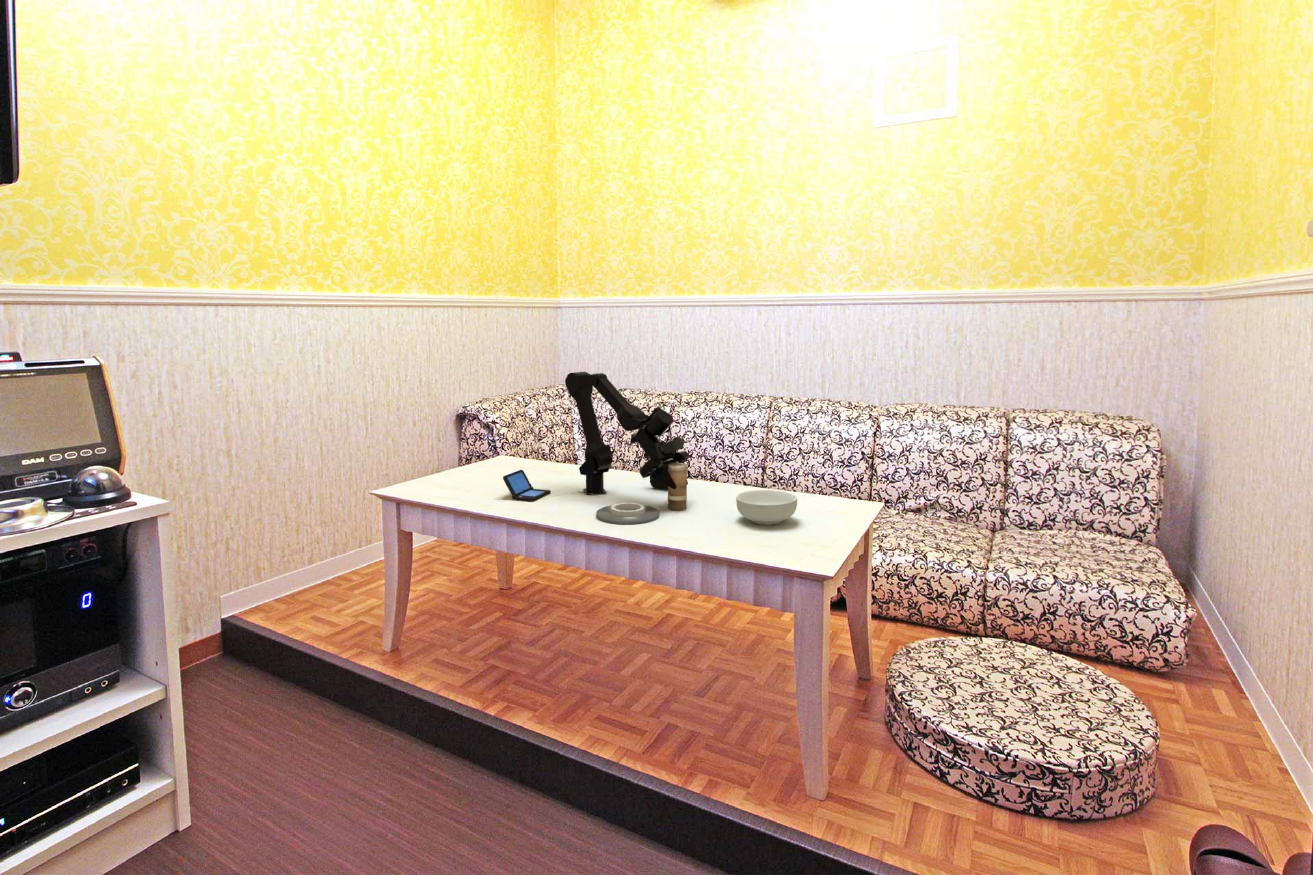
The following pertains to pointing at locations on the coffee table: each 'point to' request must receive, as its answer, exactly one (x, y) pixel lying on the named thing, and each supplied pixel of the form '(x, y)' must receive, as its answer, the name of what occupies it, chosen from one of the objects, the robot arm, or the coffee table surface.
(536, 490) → the handheld game console
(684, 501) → the brown cylindrical container
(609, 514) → the round tray
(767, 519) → the cereal bowl
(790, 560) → the coffee table surface
